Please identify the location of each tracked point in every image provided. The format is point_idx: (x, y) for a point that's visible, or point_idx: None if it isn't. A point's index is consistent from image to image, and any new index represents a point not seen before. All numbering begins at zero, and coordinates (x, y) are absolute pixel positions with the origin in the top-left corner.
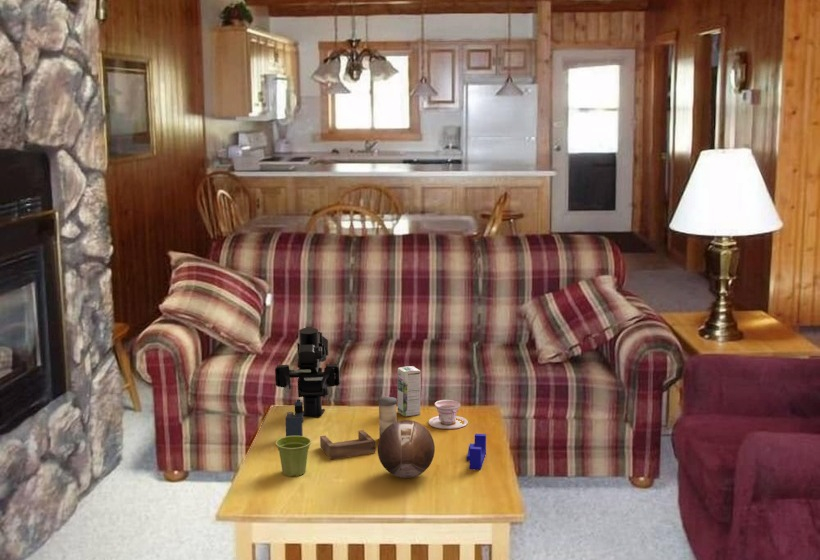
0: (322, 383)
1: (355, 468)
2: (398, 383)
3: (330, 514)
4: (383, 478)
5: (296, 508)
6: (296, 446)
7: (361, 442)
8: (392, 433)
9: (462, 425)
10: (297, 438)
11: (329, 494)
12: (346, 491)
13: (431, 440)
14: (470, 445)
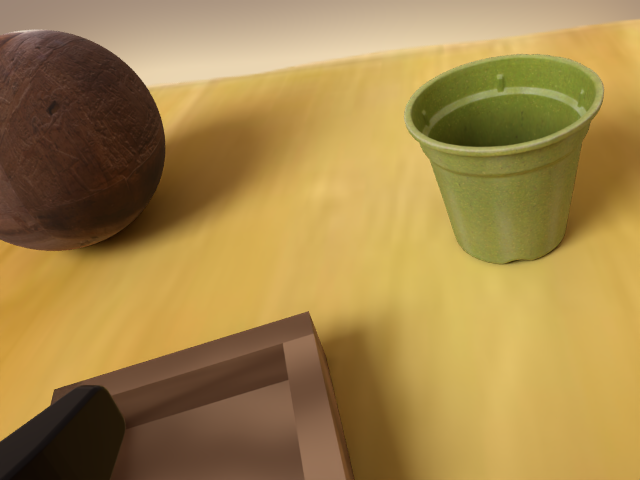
0: (49, 415)
1: (242, 269)
2: None
3: (376, 55)
4: (179, 207)
5: (466, 59)
6: (495, 187)
7: (130, 372)
8: (81, 37)
9: None
10: (486, 157)
11: (370, 118)
12: (316, 136)
13: None
14: None
